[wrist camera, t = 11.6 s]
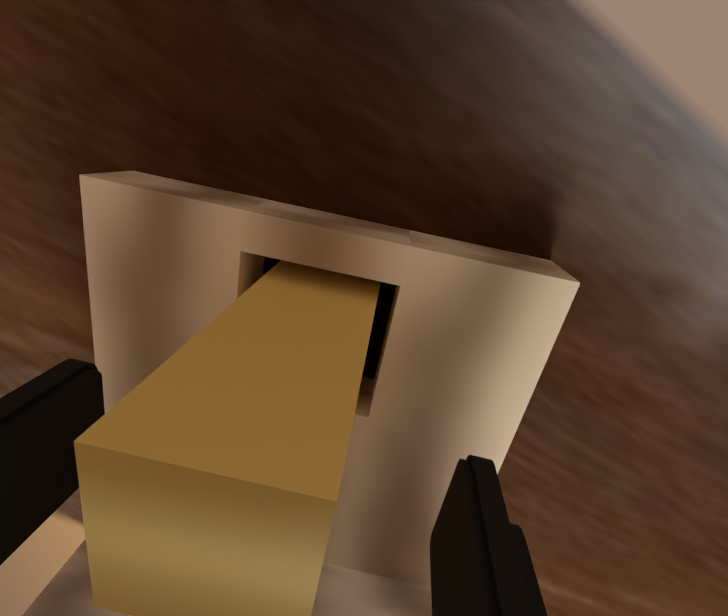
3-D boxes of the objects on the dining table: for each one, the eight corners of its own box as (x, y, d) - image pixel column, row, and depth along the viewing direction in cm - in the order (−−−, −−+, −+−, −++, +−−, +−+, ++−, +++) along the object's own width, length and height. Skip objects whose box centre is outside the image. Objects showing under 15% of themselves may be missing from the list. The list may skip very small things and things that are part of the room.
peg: (381, 277, 17) (337, 501, 6) (362, 362, 19) (302, 656, 8) (284, 256, 17) (73, 441, 6) (274, 342, 19) (94, 606, 8)
